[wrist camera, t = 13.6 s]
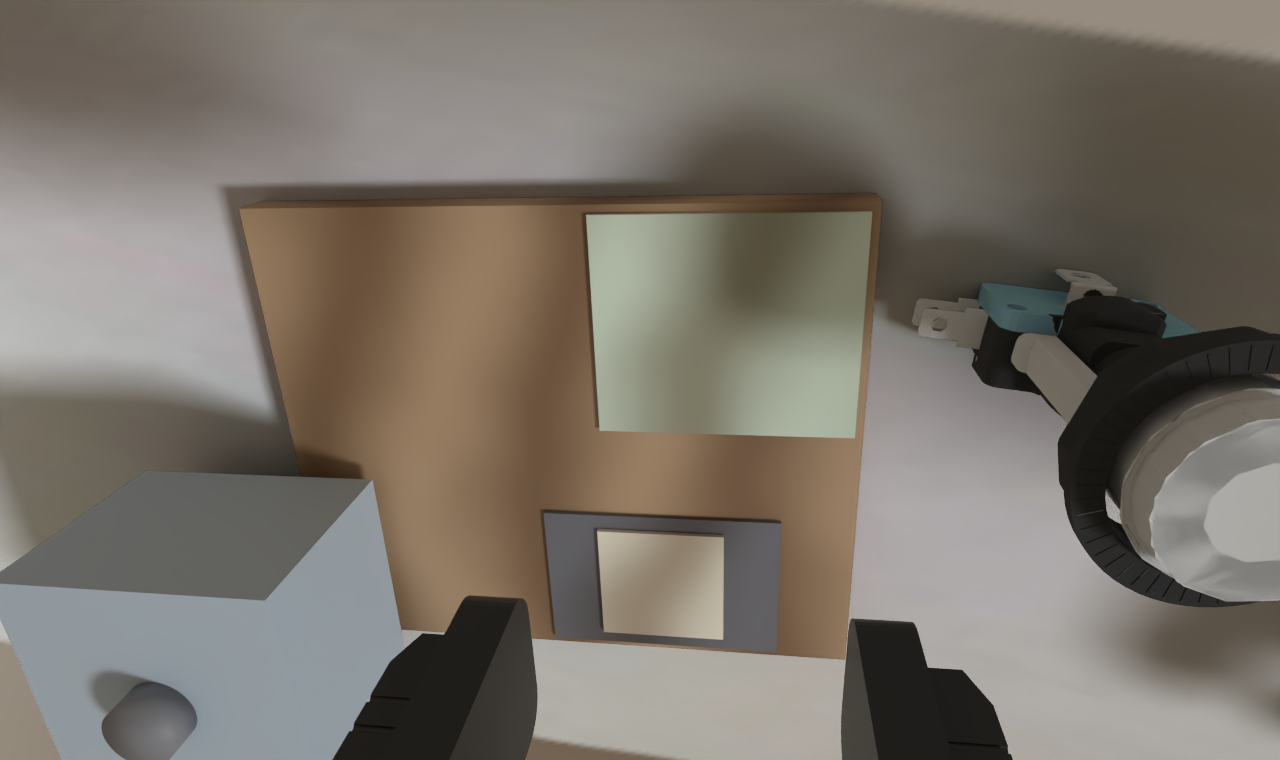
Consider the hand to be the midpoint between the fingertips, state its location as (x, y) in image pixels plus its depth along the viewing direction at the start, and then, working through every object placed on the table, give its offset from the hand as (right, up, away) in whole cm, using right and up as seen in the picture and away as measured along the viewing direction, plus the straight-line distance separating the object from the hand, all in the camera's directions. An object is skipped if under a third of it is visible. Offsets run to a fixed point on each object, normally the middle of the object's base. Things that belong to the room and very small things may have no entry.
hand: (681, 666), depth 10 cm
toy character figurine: (+10, +5, +12) cm, 17 cm away
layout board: (-3, +2, +15) cm, 16 cm away
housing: (-13, -3, +17) cm, 22 cm away
